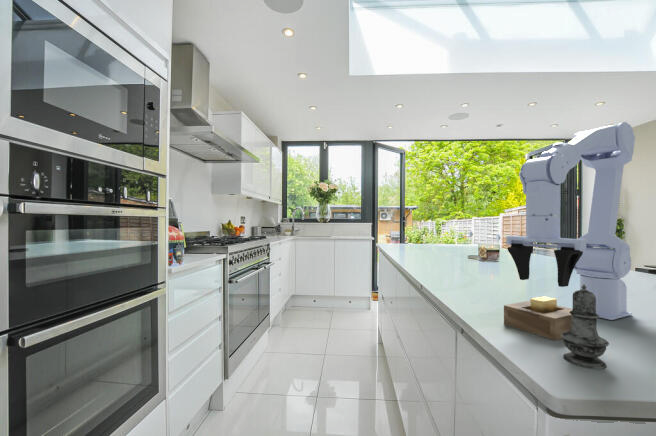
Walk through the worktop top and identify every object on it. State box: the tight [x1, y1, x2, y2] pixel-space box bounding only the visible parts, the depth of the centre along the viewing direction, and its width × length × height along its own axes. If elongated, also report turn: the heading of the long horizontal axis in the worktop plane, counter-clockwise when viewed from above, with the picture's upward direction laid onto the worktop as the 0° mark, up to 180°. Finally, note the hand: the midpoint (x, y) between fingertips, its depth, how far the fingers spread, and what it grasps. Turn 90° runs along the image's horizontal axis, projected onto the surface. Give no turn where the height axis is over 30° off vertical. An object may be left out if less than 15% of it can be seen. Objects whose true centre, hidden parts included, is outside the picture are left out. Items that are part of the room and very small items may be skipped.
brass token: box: [529, 295, 558, 313], centre depth 65 cm, size 4×2×6 cm, turn 115°
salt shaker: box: [561, 285, 610, 370], centre depth 50 cm, size 6×6×12 cm
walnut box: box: [503, 300, 573, 341], centre depth 65 cm, size 10×10×4 cm
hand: (542, 282), depth 65 cm, fingers open, 7 cm apart
